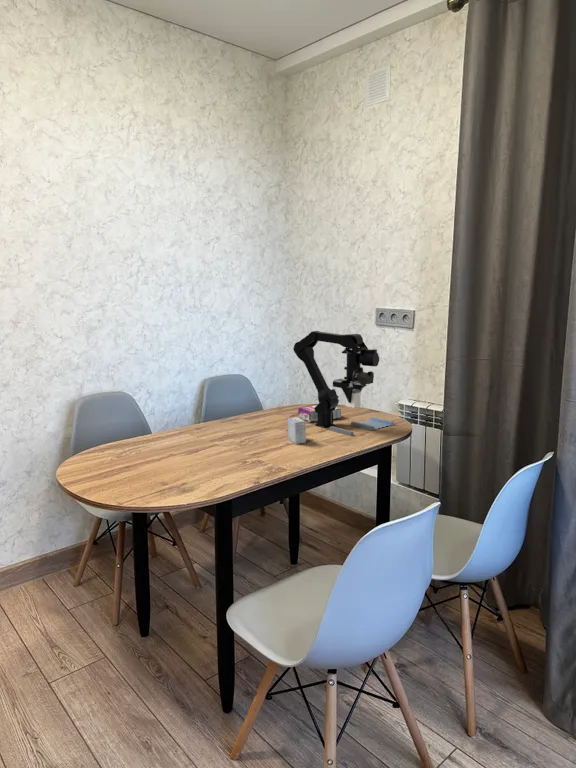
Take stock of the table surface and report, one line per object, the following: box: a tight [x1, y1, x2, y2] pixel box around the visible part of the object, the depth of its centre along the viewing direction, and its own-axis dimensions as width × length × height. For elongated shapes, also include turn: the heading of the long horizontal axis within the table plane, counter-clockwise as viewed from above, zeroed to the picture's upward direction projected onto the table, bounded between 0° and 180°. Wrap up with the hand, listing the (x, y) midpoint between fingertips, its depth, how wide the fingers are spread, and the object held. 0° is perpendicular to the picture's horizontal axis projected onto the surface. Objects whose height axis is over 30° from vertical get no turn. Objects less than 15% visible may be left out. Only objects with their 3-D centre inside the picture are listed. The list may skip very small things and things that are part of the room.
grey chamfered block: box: [345, 389, 362, 409], centre depth 220 cm, size 4×5×7 cm
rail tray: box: [329, 416, 395, 437], centre depth 226 cm, size 27×12×2 cm, turn 130°
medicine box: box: [287, 416, 307, 445], centre depth 206 cm, size 8×4×9 cm, turn 22°
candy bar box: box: [297, 405, 342, 423], centre depth 243 cm, size 11×5×16 cm
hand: (353, 401), depth 220 cm, fingers closed on grey chamfered block, 3 cm apart
